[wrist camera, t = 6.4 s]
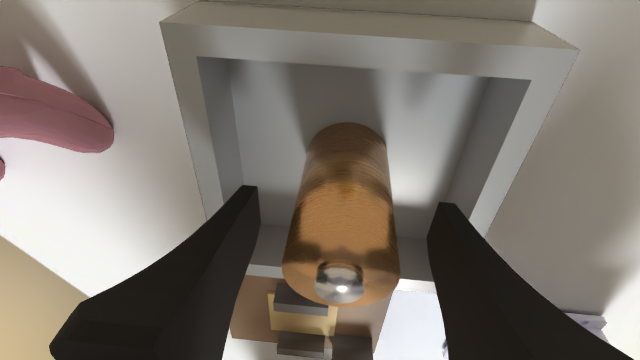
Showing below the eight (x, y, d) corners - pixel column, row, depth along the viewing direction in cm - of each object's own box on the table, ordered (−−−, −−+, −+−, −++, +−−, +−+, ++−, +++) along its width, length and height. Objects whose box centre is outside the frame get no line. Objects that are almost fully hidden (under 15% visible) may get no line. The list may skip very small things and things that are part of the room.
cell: (395, 127, 15) (416, 258, 9) (379, 192, 18) (388, 328, 12) (309, 117, 16) (277, 240, 10) (305, 183, 18) (277, 313, 12)
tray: (531, 21, 13) (580, 50, 10) (441, 245, 21) (454, 295, 18) (199, 0, 13) (159, 22, 11) (236, 226, 21) (219, 272, 19)
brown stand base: (394, 266, 22) (399, 316, 20) (373, 338, 29) (375, 384, 26) (219, 250, 23) (200, 296, 20) (236, 324, 29) (223, 367, 26)
